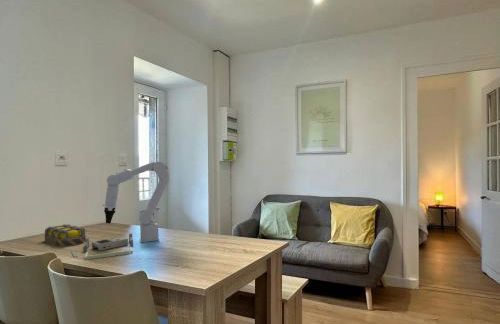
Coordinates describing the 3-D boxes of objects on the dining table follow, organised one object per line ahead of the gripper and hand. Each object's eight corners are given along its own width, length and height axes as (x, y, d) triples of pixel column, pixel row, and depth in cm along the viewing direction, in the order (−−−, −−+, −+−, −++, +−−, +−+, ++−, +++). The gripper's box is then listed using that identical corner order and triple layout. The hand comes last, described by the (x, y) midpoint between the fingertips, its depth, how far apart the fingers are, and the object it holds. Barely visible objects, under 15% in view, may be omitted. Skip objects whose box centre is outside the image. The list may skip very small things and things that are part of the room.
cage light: (67, 222, 195) (90, 227, 176) (68, 236, 195) (90, 242, 176) (40, 226, 183) (61, 232, 164) (40, 240, 183) (61, 247, 164)
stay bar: (75, 252, 155) (75, 250, 155) (77, 257, 145) (77, 255, 145) (71, 252, 154) (71, 250, 154) (73, 258, 144) (73, 256, 144)
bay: (131, 249, 156) (131, 246, 156) (132, 253, 148) (132, 250, 148) (85, 254, 148) (85, 251, 148) (84, 259, 140) (84, 256, 140)
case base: (132, 241, 174) (132, 232, 174) (133, 246, 162) (133, 237, 162) (85, 246, 165) (85, 237, 165) (83, 252, 153) (83, 242, 153)
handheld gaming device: (128, 245, 165) (128, 238, 165) (99, 251, 154) (98, 243, 154) (120, 243, 171) (120, 236, 171) (91, 249, 160) (91, 241, 160)
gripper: (103, 194, 177) (100, 219, 177) (103, 197, 164) (99, 224, 163) (117, 195, 180) (114, 219, 180) (117, 198, 167) (114, 224, 166)
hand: (108, 221), depth 172 cm, fingers open, 7 cm apart
